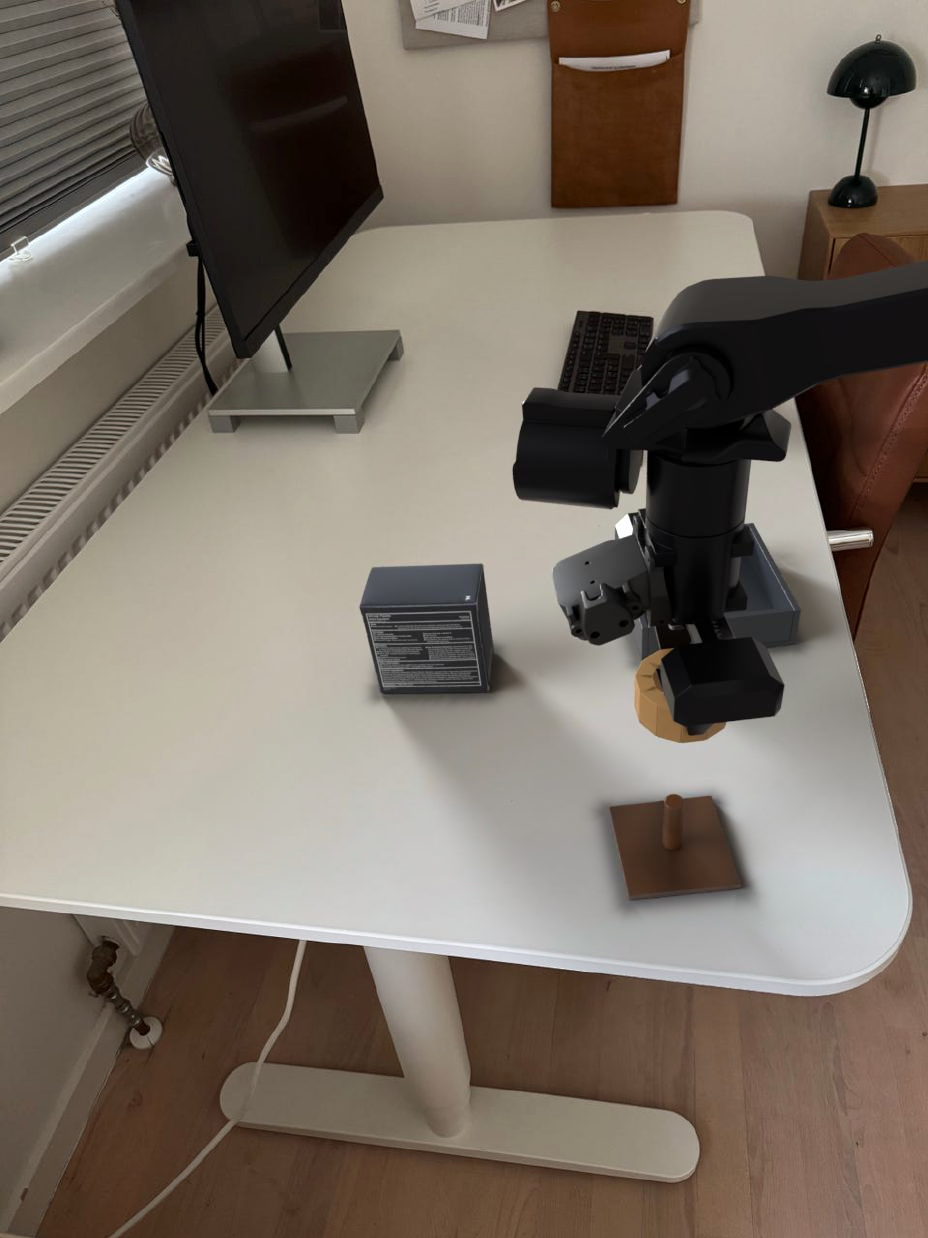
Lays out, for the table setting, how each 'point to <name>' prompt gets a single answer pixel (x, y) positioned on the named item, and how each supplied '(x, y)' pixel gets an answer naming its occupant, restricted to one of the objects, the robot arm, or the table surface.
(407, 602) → the small box
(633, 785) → the table surface
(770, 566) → the tray
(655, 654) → the tape
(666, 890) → the wooden peg board
